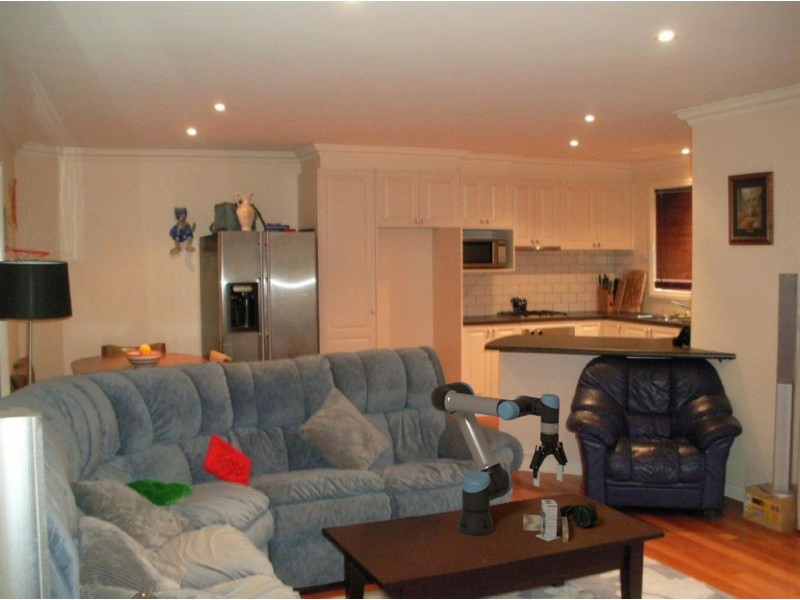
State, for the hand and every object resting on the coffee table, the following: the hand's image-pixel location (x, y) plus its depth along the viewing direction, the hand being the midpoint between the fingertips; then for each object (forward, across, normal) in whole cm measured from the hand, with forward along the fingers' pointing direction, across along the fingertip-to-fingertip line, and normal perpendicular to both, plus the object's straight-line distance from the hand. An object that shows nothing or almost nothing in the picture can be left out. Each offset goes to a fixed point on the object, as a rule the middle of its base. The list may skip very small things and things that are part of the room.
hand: (548, 483), depth 307 cm
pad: (+23, 0, 0) cm, 23 cm away
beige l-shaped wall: (+23, +1, +2) cm, 23 cm away
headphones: (+23, +24, +4) cm, 34 cm away
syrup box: (+22, +1, 0) cm, 23 cm away
